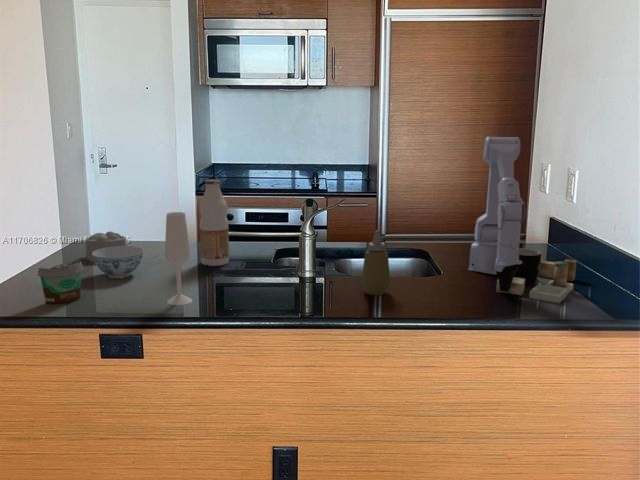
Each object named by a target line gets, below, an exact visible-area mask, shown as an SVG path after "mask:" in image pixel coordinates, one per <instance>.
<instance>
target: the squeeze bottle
mask: <svg viewBox="0 0 640 480" xmlns="http://www.w3.org/2000/svg"><path fill="white" fill-rule="evenodd" d="M389 263H390V262H389V252H388V251H386V244H385V242H382V238H381V233H380V230H375V231H374V235H373V238H372V241H371V242H369V243H368V249H367V250H366V251H365V252H364V260H363V267H362V274H361V283H362V286H363V290H364V292H365V294H367V295H369V296H370V295H371V296H383V295H385V294H386V293H387V290H388V289H389V285H390V281H391V280H390V279H391V277H390V276H391V275H390V265H389Z"/></svg>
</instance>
